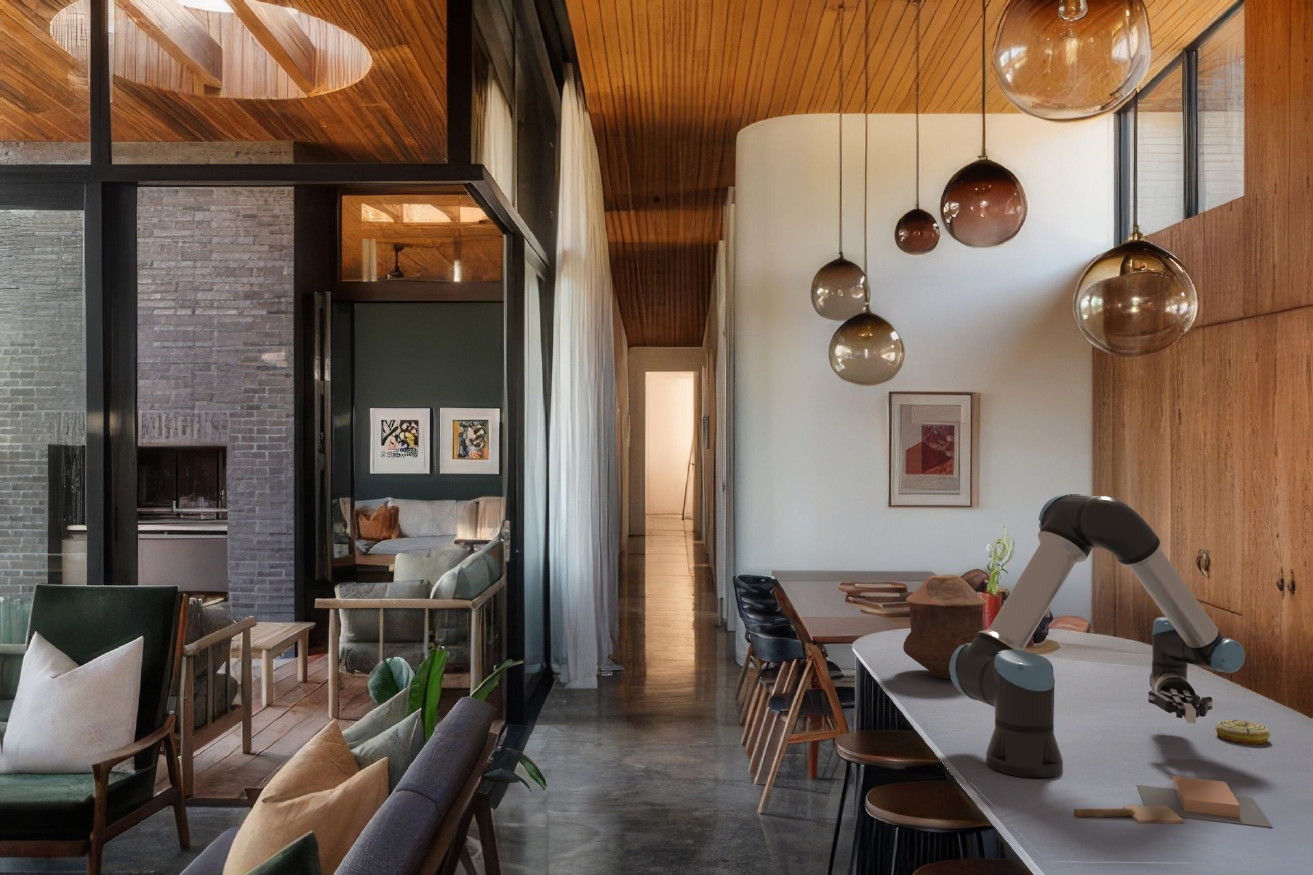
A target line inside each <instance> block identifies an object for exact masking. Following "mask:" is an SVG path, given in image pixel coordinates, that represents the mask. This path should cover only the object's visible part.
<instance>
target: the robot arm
mask: <svg viewBox="0 0 1313 875" xmlns="http://www.w3.org/2000/svg"><path fill="white" fill-rule="evenodd" d="M1038 521H1039V524H1038V528H1039V531H1038V534H1037V537H1038V541H1039V545H1038V547H1037V548H1036V550H1035V552H1034V553H1033V555H1032V557H1031V558H1030V560H1029V561H1028V563H1027V564H1026V566H1025V568H1024V569H1023V571H1022V572H1021V575H1020V576H1019V578H1018V579H1017V581H1016V583H1015V585H1014V586H1013V588H1012V590H1011V591H1010V592H1009V594H1008V596H1007V597H1006V599H1005V601H1004V603H1003V604H1002V605H1001V607H1000V609H999V610H998V612H997V615H996V616H995V618H994V619H993V621H992V622H991V624H990V626H989V628H988V629H984V630H983V631H979V632H978V633H977V635H976V637H975V638H974V640H973V641H972V643H968V644H965V645H961V646H960V647H958V648H957V649H956V650H955V652H954V653H953V655H952V657H951V660H950V666H949V671H950V674H951V679H950V680H951V682H952V684H953V685H954V687H955V688H956V690H958V691H959V692H960V693H961V694H963V695H964V696H967V697H968V698H969V699H971V700H974V701H979V702H981V703H984V704H986V705H989V706H992V707H993V708H994V730H993V732H992V735H991V738H990V740H989V744H988V746H987V750H986V754H985V760H986V762H985V763H986V766H987V767H988V768H990V769H992V770H994V771H996V772H998V773H1002V774H1005V775H1011V776H1015V777H1020V778H1028V779H1029V778H1030V779H1032V778H1033V779H1048V778H1054V777H1057V776H1058V777H1059V776H1060V775H1062V774H1063V773H1064V772H1063V771H1064V769H1063V768H1064V767H1063V766H1064V760H1063V757H1062V754H1061V752H1060V748H1059V745H1058V742H1057V739H1056V736H1055V728H1054V726H1055V724H1054V721H1055V684H1056V683H1055V682H1056V680H1055V674H1054V666H1053V663H1052V662H1051V661H1050V660H1049V659H1047V658H1046V657H1044V656H1043V655H1041V654H1038V653H1035V652H1031V651H1030V652H1029V651H1025V648H1026V647H1027V645H1028V643H1029V641H1030V640H1031V639H1032V637H1033V634H1034V633H1035V632H1036V630H1037V628H1038V627H1039V625H1040V623H1041V622H1042V619H1043V618H1044V617H1045V615H1046V613H1047V611H1048V610H1049V608H1050V607H1051V605H1052V603H1053V602H1054V600H1055V598H1056V596H1058V595H1057V594H1058V593H1059V592H1060V590H1061V588H1062V587H1063V584H1064V583H1065V581H1066V579H1067V578H1068V577H1069V574H1070V573H1071V571H1072V569H1073V568H1074V566H1075V565H1076V564H1078V563H1083V562H1085V561H1086V560H1087V559H1088V557H1089V555H1090V554H1091V551H1092V550H1093V549H1094V548H1096V549H1097V548H1098V549H1103V550H1106V551H1108V552H1109V553H1111V554H1112V555H1113V556H1114V557H1115V558H1116V560H1117V561H1118V562H1119V563H1120V564H1121V565H1124V566H1128V568H1129V569H1130V570H1131V571H1132V573H1133V574H1134V576H1135V577H1136V578H1137V580H1138V581H1139V582H1140V584H1141V585H1142V586H1143V588H1144V589H1145V591H1146V592H1147V593H1148V595H1149V596H1150V598H1152V600H1153V601H1154V603H1155V604H1156V605H1157V607H1158V608H1159V609H1160V611H1161V612H1162V614H1163V615H1164V617H1163V616H1162V617H1161V616H1160V617H1157V618H1155V619H1154V620H1153V624H1152V633H1151V637H1152V638H1151V639H1152V641H1151V642H1152V643H1151V646H1152V647H1151V648H1152V650H1151V651H1152V652H1151V653H1152V654H1151V656H1152V657H1151V672H1150V675H1149V686H1150V688H1151V690H1149V691H1148V696H1147V697H1148V698H1147V699H1148V703H1149V704H1152V705H1155V706H1157V707H1158V708H1160V709H1161V710H1163V711H1164V712H1167V713H1168V714H1173V713H1175V714H1176V716H1175V718H1178V719H1184V720H1185V721H1186V722H1187V723H1188V724H1194V725H1195V724H1197V722H1196V720H1197V718H1199V717H1201V718H1204V717H1206V715H1207V713H1208V712H1209V711H1210V710H1213V697H1211V696H1205V697H1204V696H1201V697H1200V695H1198V694H1196V691H1195V689H1194V688H1193V687H1192V685H1191V683H1190V682H1189V681H1188V665H1193V666H1197V667H1202V668H1205V669H1208V670H1212V671H1214V672H1222V673H1227V674H1233V673H1235V672H1238V671H1239V670H1240V669H1241V667H1242V666H1243V665H1244V664H1245V663H1244V662H1245V658H1246V652H1245V650H1244V647H1243V645H1242V644H1241V643H1240V642H1238V641H1236V640H1235V639H1233V638H1229V637H1225V636H1224V635H1223V633H1222V632H1221V631H1220V629H1218V627H1217V626H1216V624H1215V623H1214V622H1213V620H1212V618H1211V617H1210V616H1209V614H1208V613H1207V612H1206V610H1205V608H1204V607H1203V606H1202V604H1201V603H1200V602H1199V600H1198V599H1197V597H1196V596H1195V595H1194V593H1193V592H1192V591H1191V590H1190V588H1189V587H1188V585H1187V584H1186V582H1184V580H1183V578H1182V576H1180V574H1179V573H1178V571H1177V570H1176V569H1175V567H1174V566H1173V564H1172V563H1171V562H1170V560H1169V559H1168V557H1167V556H1166V554H1165V553H1164V552H1163V550H1162V549H1161V548H1160V546H1161V539H1160V538H1159V537H1158V536H1157V534H1156V533H1155V531H1154V530H1153V528H1152V527H1151V526H1150V525H1149V524H1148V523H1147V522H1146V521H1145V519H1144V518H1143V517H1142V516H1141V515H1140V514H1139V513H1138V512H1137V511H1135V509H1133V508H1132V507H1131V506H1129V505H1128V504H1127V503H1125V502H1123V501H1122V500H1120V499H1117V498H1115V497H1112V496H1106V495H1083V494H1079V493H1067V494H1060V495H1056V496H1054V497H1052V498H1050V499H1049V500H1047V502H1045V504H1044V505H1043V506H1042V508H1041V510H1040V512H1039V515H1038Z"/></svg>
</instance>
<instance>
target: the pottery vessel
mask: <svg viewBox="0 0 1313 875" xmlns="http://www.w3.org/2000/svg"><path fill="white" fill-rule="evenodd" d="M905 601H906V603H909V624H910V632H909V633H908V635H907V636H906V638H905V640H904V642H903V647H902V648H903V651H904V653H905V654H906V655H907V656H908V657H910V658H911V659H912V660H913V661H915V662H917V663H918V664H919V665H920V666H922V667H923V668H925V670H928V671H929V672H930V673H931V674H932V676H934V677H935V678H940V679H947V680H948V679H950V680H951V674H950V671H949V666H950V660H951V657H952V655H953V653H954V652H955V650H956V649H957V648H958V647H960V646H961V645H965V644H968V643H972V641H973V640H974V638H975V637H976V635H977V633H978V632H979V631H983V630H985V629H984V627H985V626H984V606H986V605H988V604H989V603H988V601H987V600H985V599H984V598H982V596H980V594H979V593H978V592H977V591H976V590H975V589H974V588H973V587H972V586H971V585H970V584H969V583H968V582H967V581H966V580H964V579H963V577H961V576H959V575H957V574H937V575H930V576H929V577H928V578H927V579H926V580H925V581H923V583H922V584H921V585H920V586H918V587H917V589H915V590H914V591H913V593H911V594H910V595H909V596H907V597H906V599H905Z"/></svg>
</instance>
